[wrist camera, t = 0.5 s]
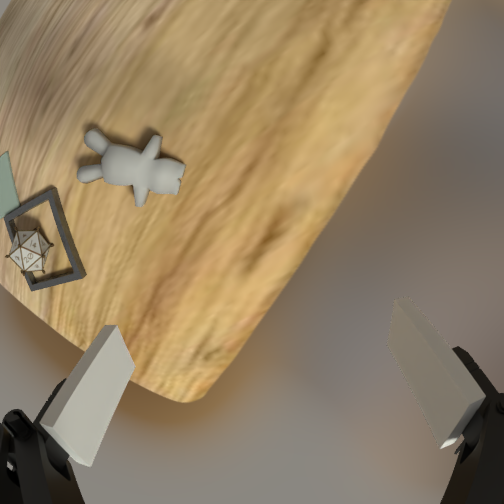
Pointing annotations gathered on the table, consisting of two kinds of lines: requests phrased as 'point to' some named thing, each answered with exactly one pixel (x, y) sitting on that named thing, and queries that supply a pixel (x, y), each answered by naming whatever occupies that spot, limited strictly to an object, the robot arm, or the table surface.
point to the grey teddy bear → (132, 167)
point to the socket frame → (64, 234)
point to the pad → (7, 187)
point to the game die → (29, 250)
